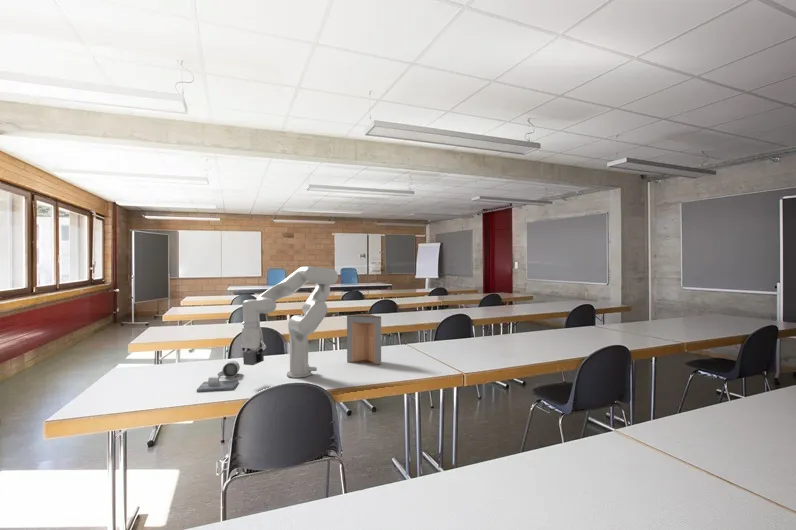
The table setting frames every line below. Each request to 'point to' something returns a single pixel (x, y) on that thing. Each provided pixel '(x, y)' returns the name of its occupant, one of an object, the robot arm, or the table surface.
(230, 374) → the ceramic mug
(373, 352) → the cabinet
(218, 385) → the plate
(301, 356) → the robot arm
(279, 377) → the table surface
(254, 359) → the dark grey block
